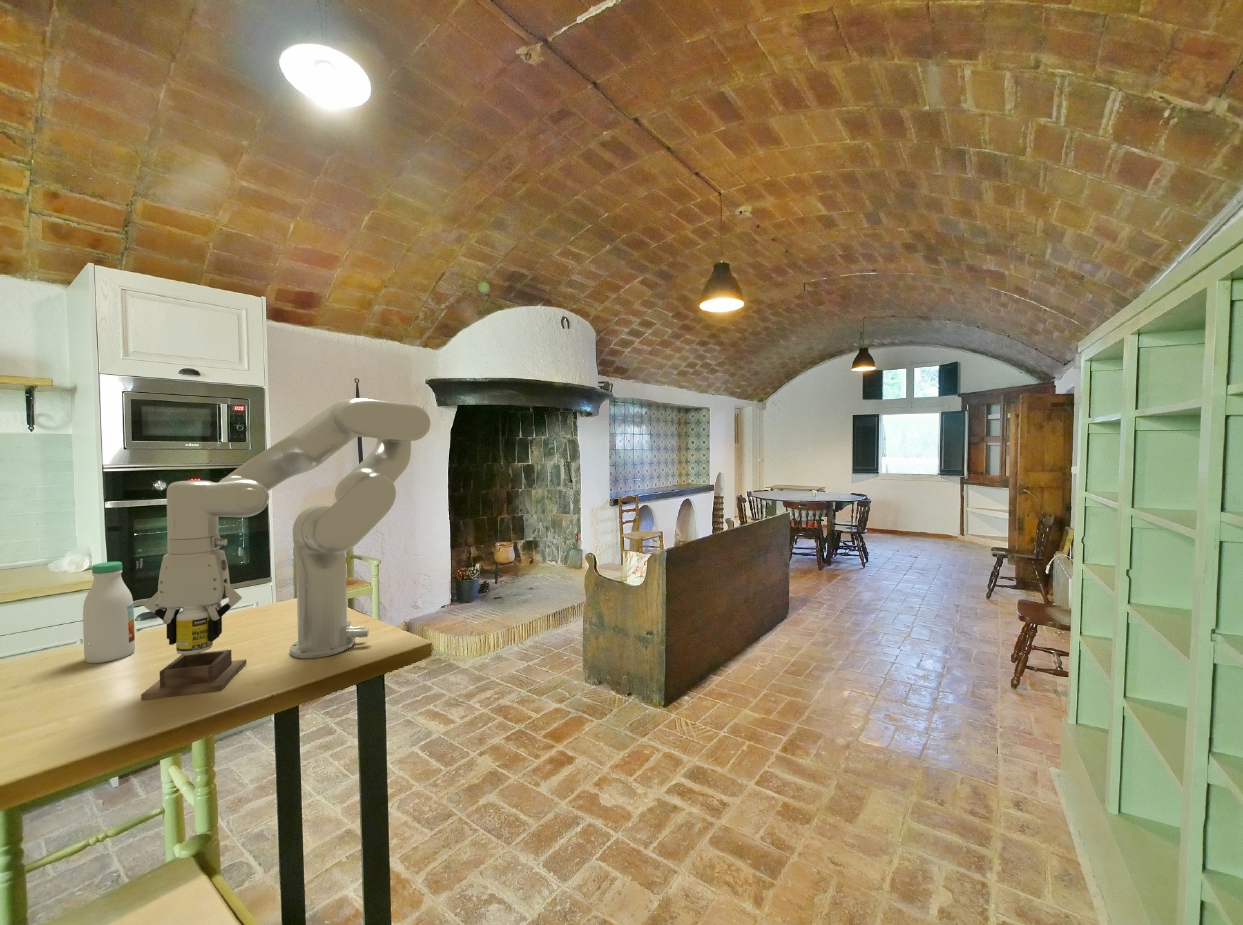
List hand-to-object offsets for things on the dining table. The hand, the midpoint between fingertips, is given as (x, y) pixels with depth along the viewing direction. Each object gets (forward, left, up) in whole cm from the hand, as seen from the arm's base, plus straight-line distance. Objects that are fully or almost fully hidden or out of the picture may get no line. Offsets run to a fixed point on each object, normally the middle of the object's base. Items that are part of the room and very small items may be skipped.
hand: (194, 639), depth 100 cm
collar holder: (0, 0, -8) cm, 8 cm away
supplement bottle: (0, 0, -2) cm, 2 cm away
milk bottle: (+23, -19, -8) cm, 31 cm away
